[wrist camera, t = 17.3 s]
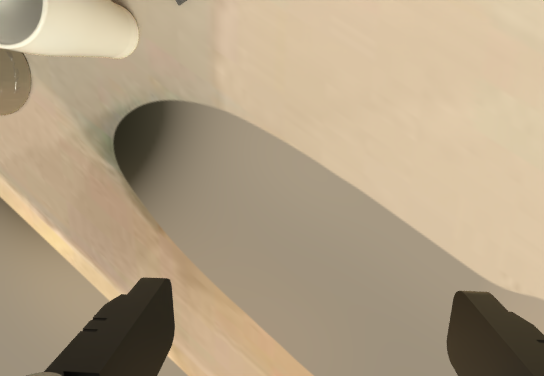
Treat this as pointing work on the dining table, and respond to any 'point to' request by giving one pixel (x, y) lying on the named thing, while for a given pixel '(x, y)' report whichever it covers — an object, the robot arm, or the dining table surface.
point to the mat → (180, 1)
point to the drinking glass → (68, 28)
